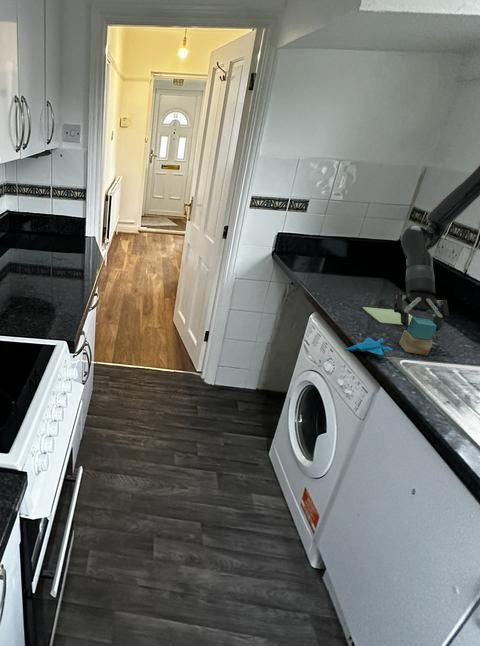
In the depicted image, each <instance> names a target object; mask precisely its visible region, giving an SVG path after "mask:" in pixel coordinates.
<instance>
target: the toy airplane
mask: <svg viewBox="0 0 480 646" xmlns="http://www.w3.org/2000/svg"><path fill="white" fill-rule="evenodd" d="M384 342H385V339H384V337H381V338H379V339H378V340H377V341H375V340H373V339H372V338H371V337H365V338H364V340H363V341H362V342H360V343H357V344H356V343H355V344H354V345H352V346H349V347H346V348H344V349H343V351H347V352H360V353H361V352H367V353H370V354H373V355H376V357H377V358H378V359H379V360H380V359H384V358H385V350H386V351H394V348H391V347H390V346H385V345H384V344H383V343H384Z"/></svg>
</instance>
